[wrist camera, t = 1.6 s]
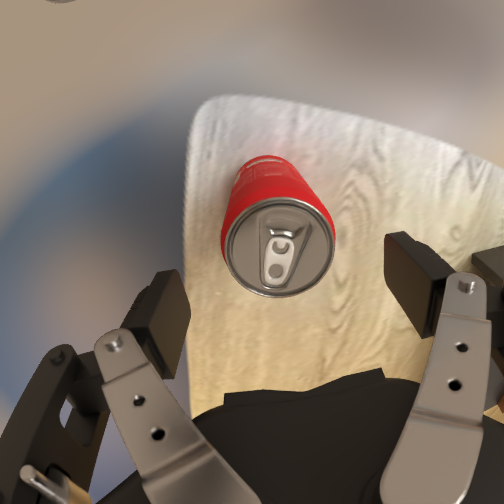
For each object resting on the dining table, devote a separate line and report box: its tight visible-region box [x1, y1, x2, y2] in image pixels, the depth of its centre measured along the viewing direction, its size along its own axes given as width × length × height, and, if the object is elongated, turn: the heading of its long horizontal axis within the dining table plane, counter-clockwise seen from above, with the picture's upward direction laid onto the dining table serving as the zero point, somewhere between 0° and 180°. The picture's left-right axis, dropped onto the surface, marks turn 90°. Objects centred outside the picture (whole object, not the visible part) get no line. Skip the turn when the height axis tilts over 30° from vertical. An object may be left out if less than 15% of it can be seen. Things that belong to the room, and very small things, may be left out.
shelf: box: [471, 246, 504, 413], centre depth 27 cm, size 24×10×9 cm, turn 11°
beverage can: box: [221, 155, 335, 298], centre depth 18 cm, size 5×5×12 cm
